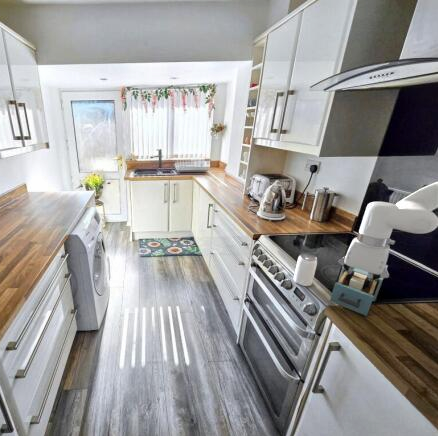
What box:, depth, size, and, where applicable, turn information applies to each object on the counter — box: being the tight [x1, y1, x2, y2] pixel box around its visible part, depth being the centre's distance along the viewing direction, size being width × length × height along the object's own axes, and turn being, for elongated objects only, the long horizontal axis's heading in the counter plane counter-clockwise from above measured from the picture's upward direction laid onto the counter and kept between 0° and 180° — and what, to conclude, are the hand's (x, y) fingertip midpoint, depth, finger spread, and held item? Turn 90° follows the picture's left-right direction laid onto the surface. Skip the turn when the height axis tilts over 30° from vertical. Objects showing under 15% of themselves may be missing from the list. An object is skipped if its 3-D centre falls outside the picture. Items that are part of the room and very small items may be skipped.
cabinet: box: [337, 264, 389, 303], centre depth 93 cm, size 13×11×9 cm
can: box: [293, 252, 318, 287], centre depth 96 cm, size 6×6×12 cm
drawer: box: [329, 271, 377, 317], centre depth 84 cm, size 17×10×8 cm, turn 131°
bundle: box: [348, 272, 367, 291], centre depth 85 cm, size 7×4×3 cm, turn 131°
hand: (356, 284), depth 85 cm, fingers closed on bundle, 3 cm apart
